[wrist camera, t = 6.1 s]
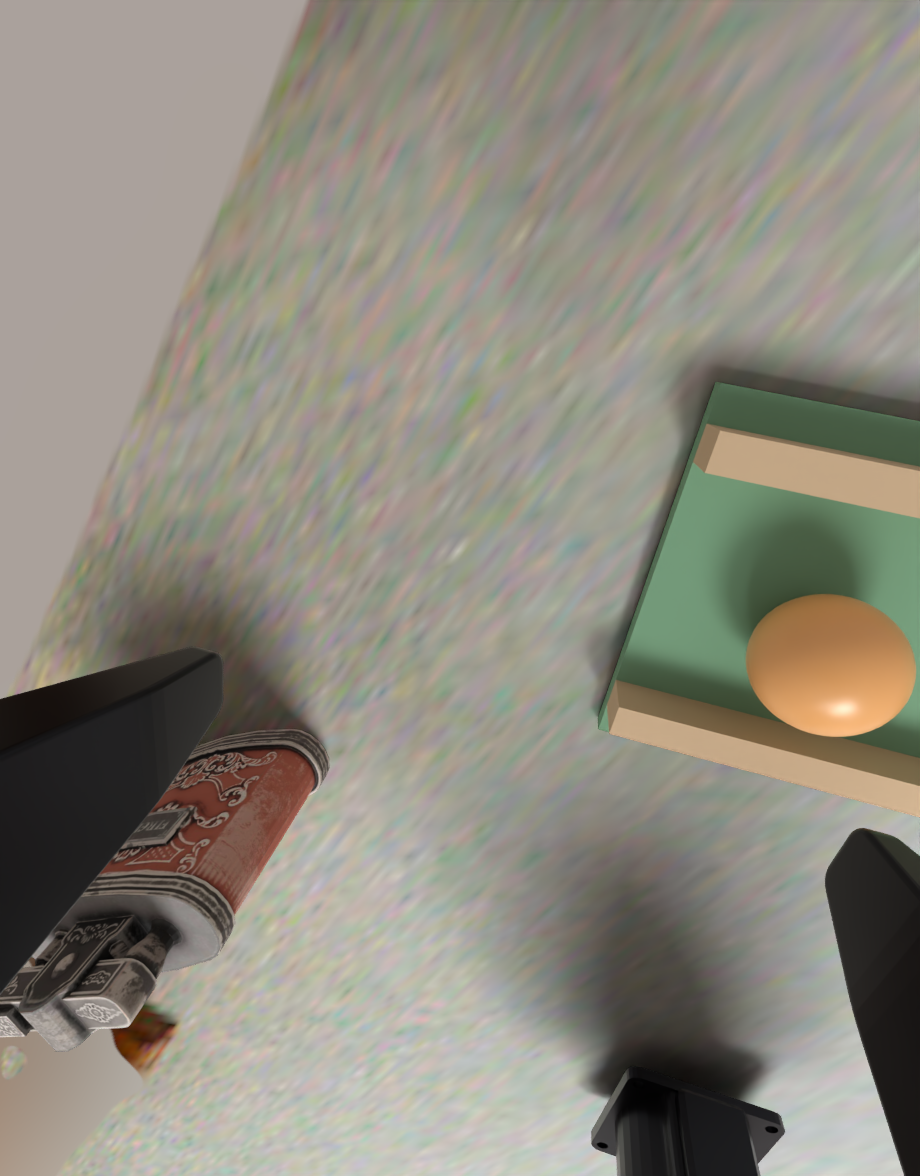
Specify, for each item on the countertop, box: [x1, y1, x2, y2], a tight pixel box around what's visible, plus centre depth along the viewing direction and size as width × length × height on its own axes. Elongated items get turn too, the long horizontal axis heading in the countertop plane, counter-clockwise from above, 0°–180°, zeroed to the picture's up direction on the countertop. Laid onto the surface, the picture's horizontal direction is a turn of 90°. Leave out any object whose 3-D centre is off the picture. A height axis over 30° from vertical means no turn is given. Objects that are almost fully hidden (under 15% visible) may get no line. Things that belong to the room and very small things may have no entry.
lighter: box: [0, 729, 329, 1052], centre depth 19 cm, size 8×3×10 cm, turn 112°
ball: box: [746, 594, 916, 737], centre depth 14 cm, size 4×4×4 cm
